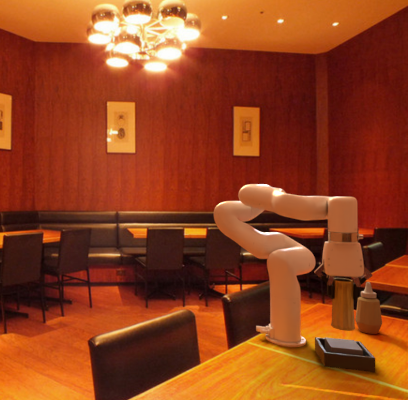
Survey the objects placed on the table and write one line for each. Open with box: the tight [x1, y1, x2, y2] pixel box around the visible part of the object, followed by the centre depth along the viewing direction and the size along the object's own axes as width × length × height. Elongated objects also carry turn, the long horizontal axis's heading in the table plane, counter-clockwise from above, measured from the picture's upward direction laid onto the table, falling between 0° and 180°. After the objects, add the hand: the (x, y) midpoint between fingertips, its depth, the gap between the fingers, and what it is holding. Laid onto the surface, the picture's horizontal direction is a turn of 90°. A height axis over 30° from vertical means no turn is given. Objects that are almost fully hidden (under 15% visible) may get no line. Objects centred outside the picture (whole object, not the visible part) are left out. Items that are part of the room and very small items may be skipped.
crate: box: [314, 337, 376, 374], centre depth 112 cm, size 13×13×4 cm
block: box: [324, 337, 363, 356], centre depth 112 cm, size 8×8×5 cm
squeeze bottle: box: [354, 281, 383, 335], centre depth 137 cm, size 8×8×18 cm
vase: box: [330, 277, 356, 332], centre depth 112 cm, size 6×6×14 cm
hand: (342, 297), depth 112 cm, fingers closed on vase, 5 cm apart
